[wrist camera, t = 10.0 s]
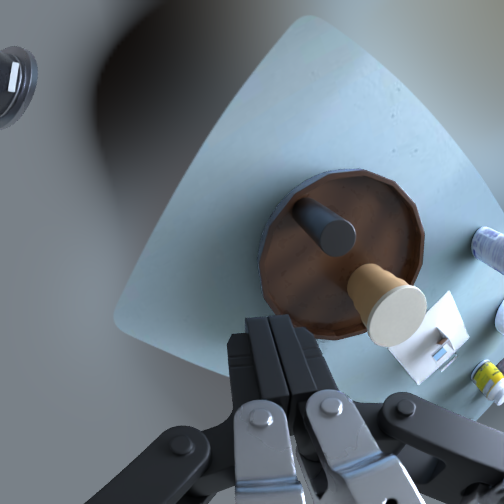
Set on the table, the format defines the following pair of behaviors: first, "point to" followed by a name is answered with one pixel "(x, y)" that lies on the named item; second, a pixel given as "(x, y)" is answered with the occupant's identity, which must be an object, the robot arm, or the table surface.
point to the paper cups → (386, 304)
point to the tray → (330, 275)
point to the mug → (500, 319)
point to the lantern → (501, 366)
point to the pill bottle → (489, 381)
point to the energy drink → (489, 248)
